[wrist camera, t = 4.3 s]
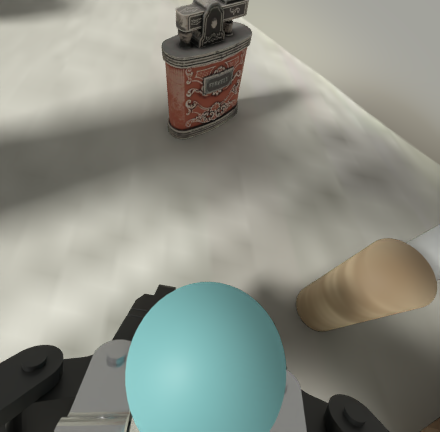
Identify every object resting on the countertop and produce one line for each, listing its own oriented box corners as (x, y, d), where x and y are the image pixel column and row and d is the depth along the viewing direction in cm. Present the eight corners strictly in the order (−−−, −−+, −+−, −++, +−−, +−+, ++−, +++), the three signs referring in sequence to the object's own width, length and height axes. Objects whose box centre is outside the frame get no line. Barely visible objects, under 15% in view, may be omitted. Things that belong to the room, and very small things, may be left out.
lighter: (181, 145, 24) (178, 21, 15) (160, 124, 25) (147, -3, 16) (243, 114, 27) (270, -3, 18) (223, 96, 28) (238, -22, 20)
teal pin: (161, 347, 15) (110, 312, 5) (207, 328, 16) (246, 263, 6) (175, 404, 14) (149, 514, 4) (226, 380, 15) (315, 414, 5)
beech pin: (288, 294, 18) (351, 250, 11) (323, 280, 19) (402, 230, 12) (310, 339, 17) (398, 320, 10) (347, 321, 17) (452, 292, 11)
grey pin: (375, 258, 20) (426, 229, 16) (402, 246, 21) (458, 216, 17) (400, 295, 19) (464, 274, 14) (429, 281, 20) (497, 257, 15)
